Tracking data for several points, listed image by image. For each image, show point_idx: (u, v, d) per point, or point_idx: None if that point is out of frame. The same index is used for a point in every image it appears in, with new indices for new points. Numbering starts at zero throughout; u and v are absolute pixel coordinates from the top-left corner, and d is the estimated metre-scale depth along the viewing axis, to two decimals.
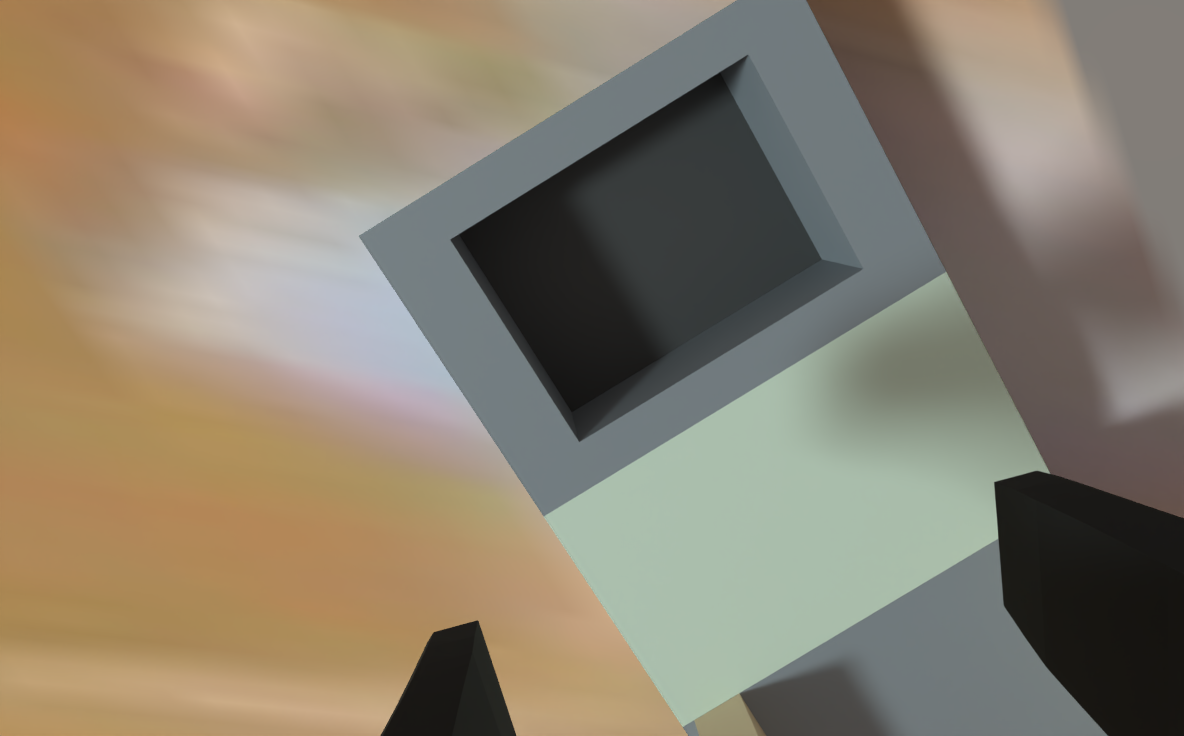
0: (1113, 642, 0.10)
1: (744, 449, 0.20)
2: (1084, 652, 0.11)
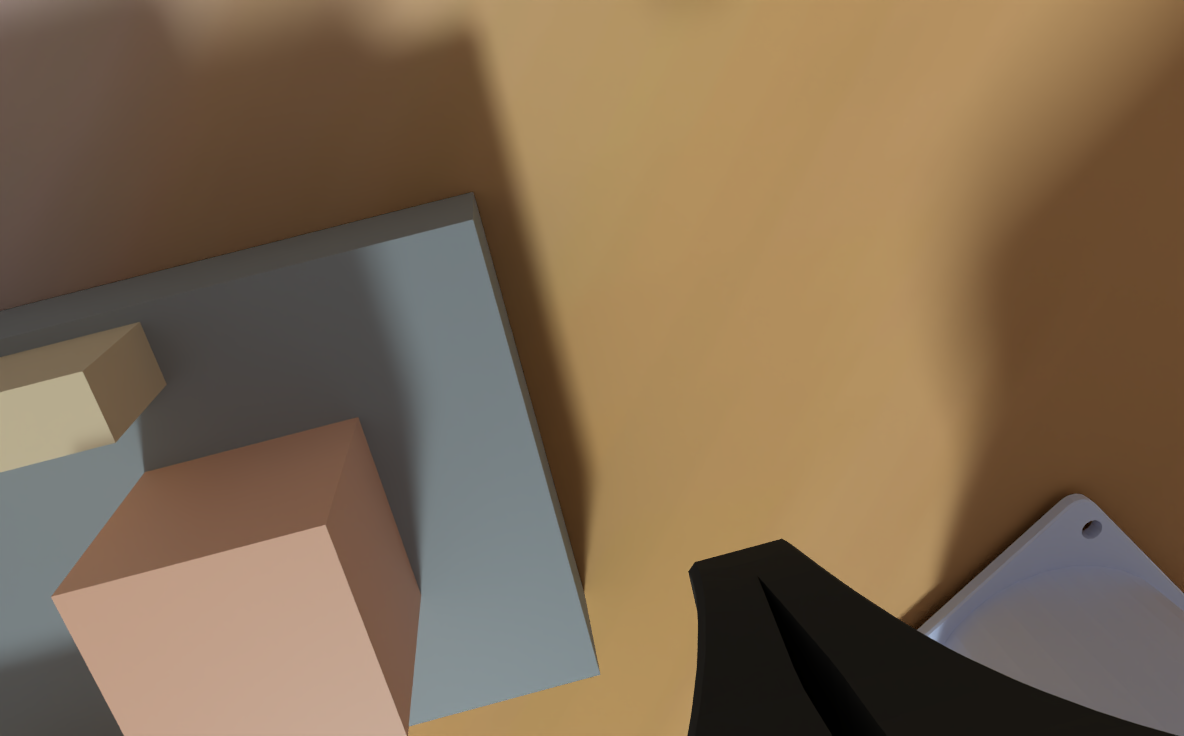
0: None
1: None
2: None
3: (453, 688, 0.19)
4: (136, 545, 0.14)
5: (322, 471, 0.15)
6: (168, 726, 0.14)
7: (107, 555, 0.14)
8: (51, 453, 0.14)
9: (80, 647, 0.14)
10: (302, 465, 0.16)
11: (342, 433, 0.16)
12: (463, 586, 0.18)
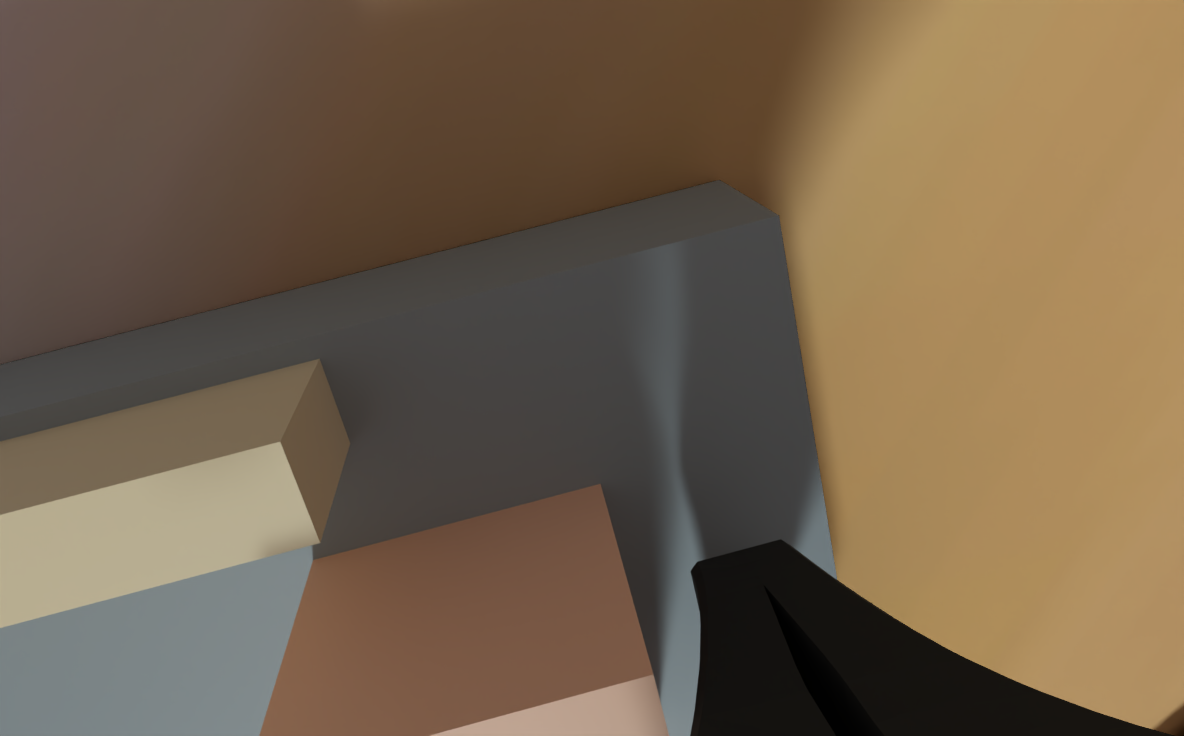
0: None
1: None
2: None
3: None
4: (350, 691, 0.10)
5: (593, 573, 0.11)
6: None
7: (309, 708, 0.10)
8: (227, 558, 0.10)
9: None
10: (555, 560, 0.11)
11: (590, 510, 0.12)
12: None
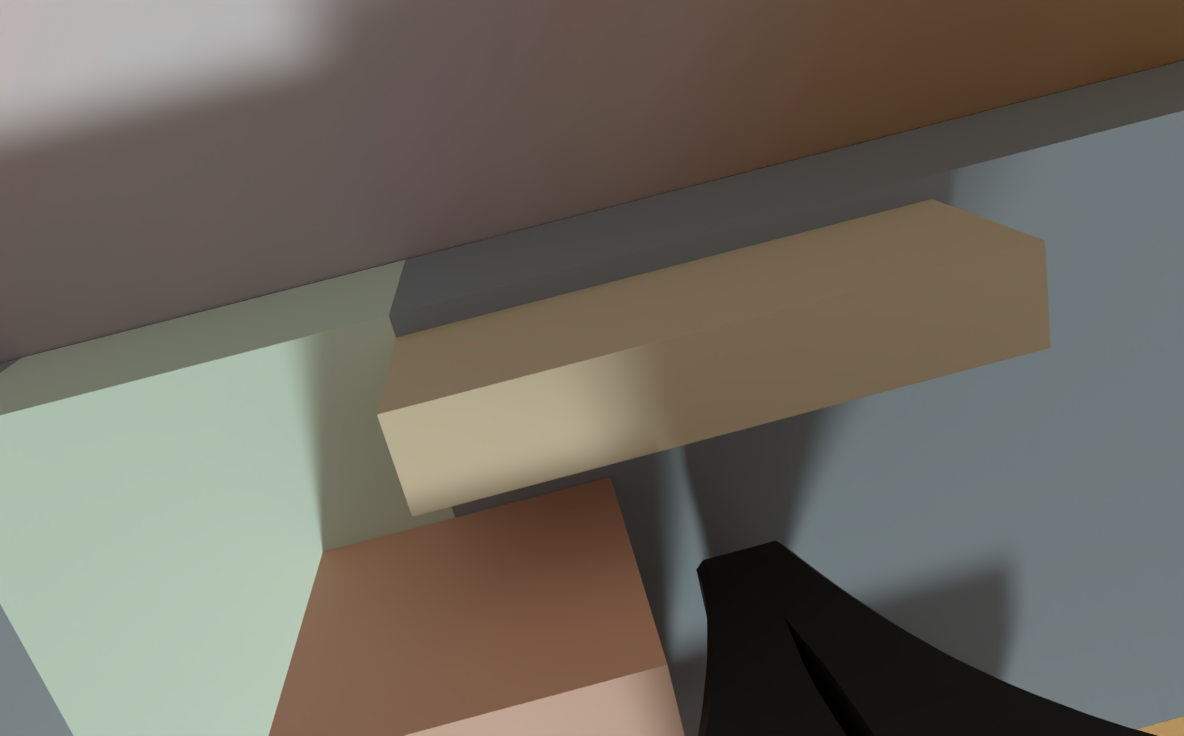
0: None
1: None
2: None
3: (1158, 693, 0.15)
4: (361, 681, 0.10)
5: (605, 565, 0.11)
6: None
7: (320, 698, 0.10)
8: (965, 362, 0.10)
9: None
10: (566, 551, 0.11)
11: (602, 503, 0.12)
12: None
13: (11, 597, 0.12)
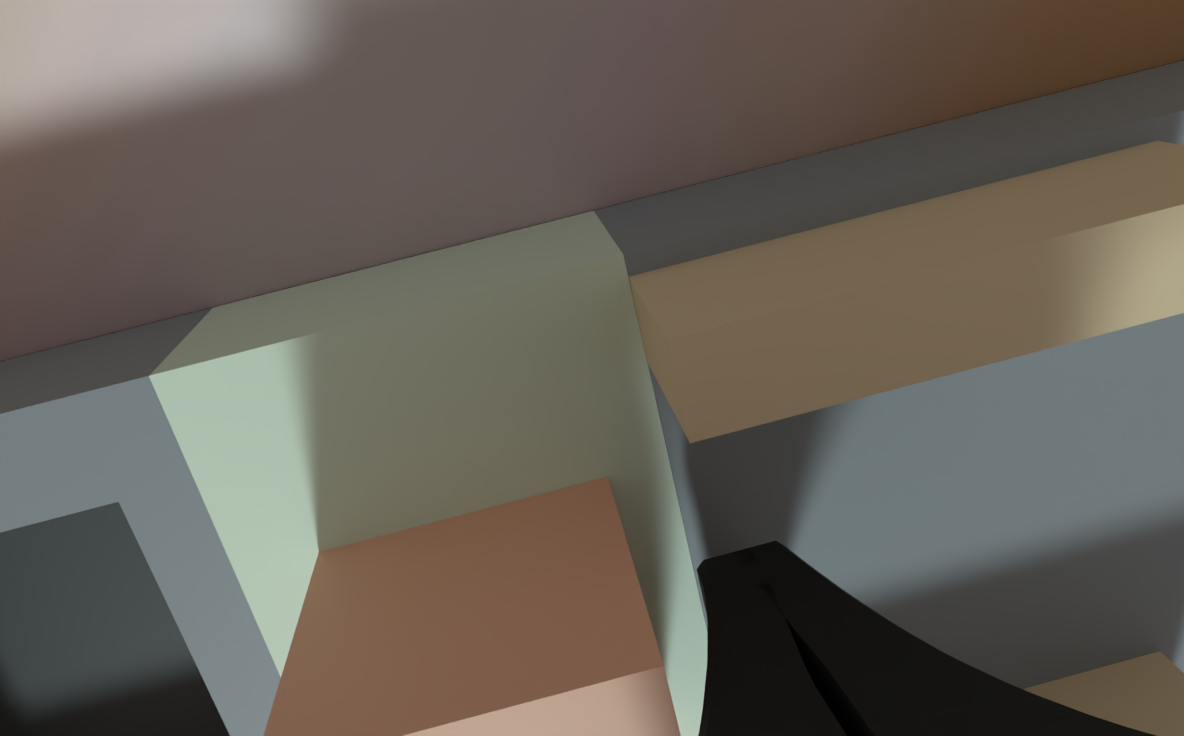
0: None
1: None
2: None
3: None
4: (356, 681, 0.10)
5: (602, 566, 0.11)
6: None
7: (315, 699, 0.10)
8: None
9: None
10: (562, 552, 0.11)
11: (598, 503, 0.12)
12: None
13: (234, 538, 0.12)
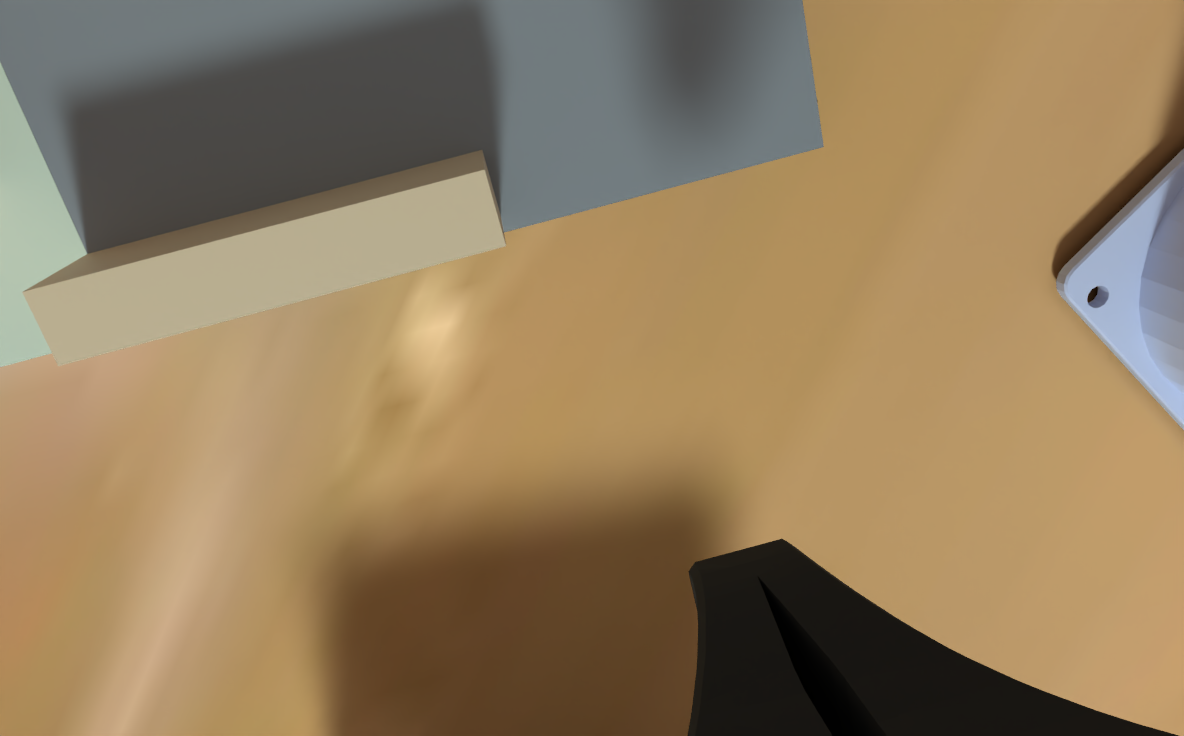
0: None
1: None
2: None
3: (656, 154, 0.17)
4: None
5: None
6: None
7: None
8: None
9: None
10: None
11: None
12: (677, 8, 0.16)
13: None
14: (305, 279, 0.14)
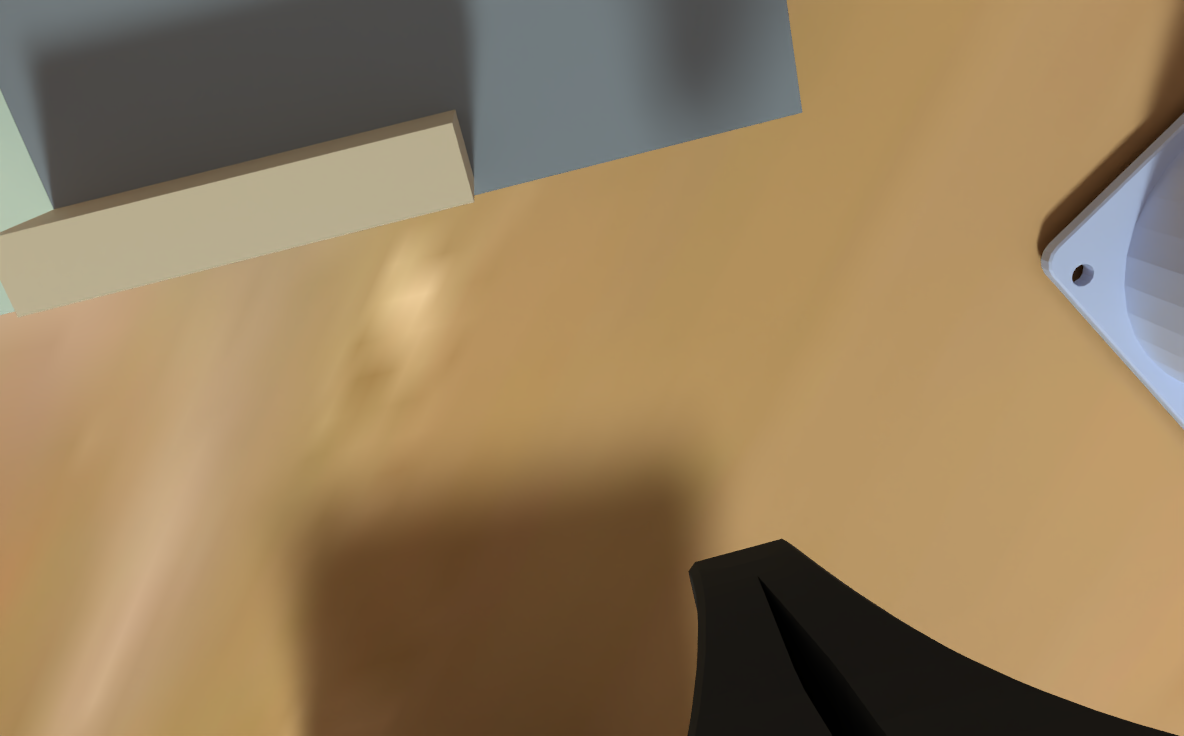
0: None
1: None
2: None
3: (632, 117, 0.16)
4: None
5: None
6: None
7: None
8: None
9: None
10: None
11: None
12: None
13: None
14: (269, 232, 0.14)
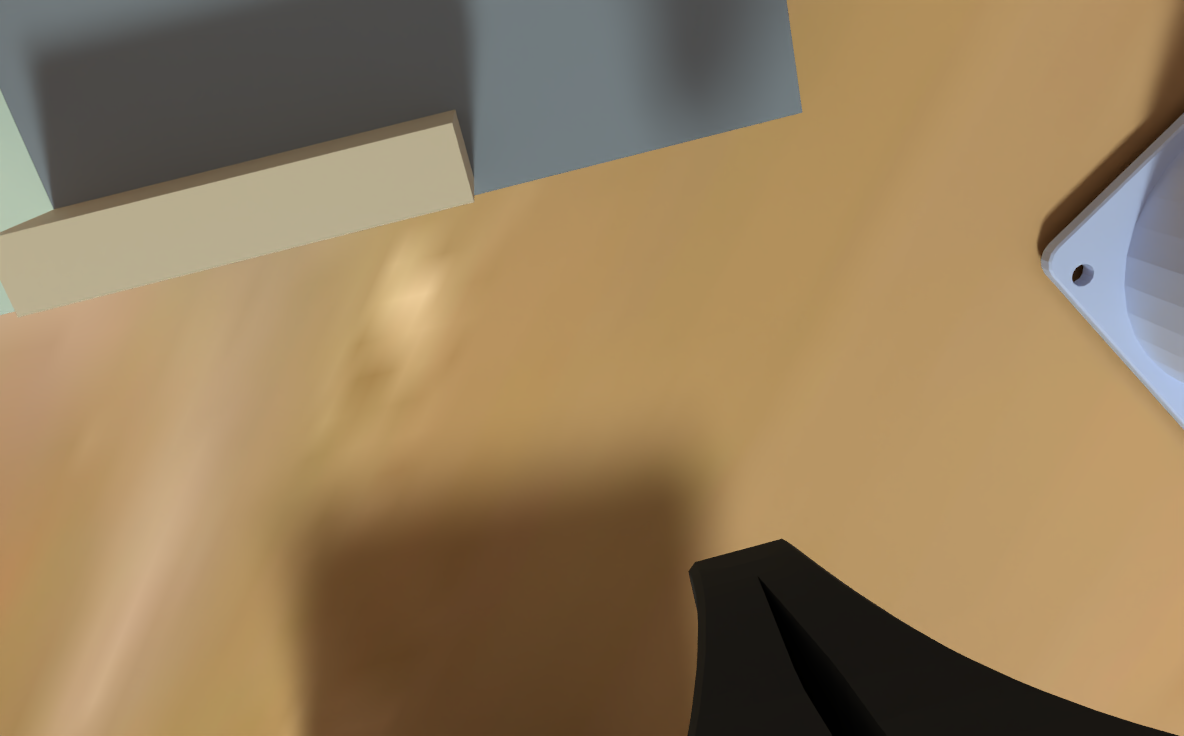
0: None
1: None
2: None
3: (632, 117, 0.16)
4: None
5: None
6: None
7: None
8: None
9: None
10: None
11: None
12: None
13: None
14: (269, 232, 0.14)
